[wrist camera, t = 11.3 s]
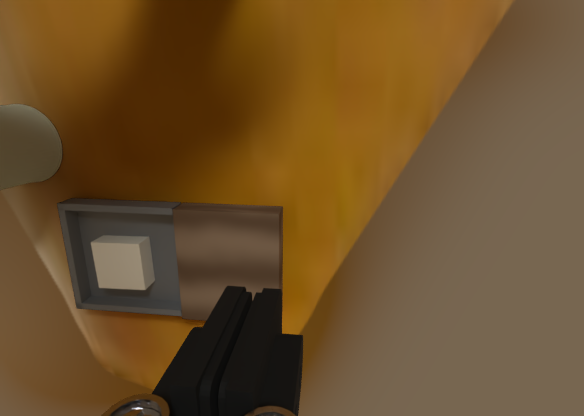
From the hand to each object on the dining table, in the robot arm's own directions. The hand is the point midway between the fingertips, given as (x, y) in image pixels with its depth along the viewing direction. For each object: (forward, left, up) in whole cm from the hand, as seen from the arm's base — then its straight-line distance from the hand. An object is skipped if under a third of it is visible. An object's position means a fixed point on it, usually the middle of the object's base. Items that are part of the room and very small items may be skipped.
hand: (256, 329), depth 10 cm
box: (+12, -22, -29) cm, 38 cm away
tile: (+12, -22, -26) cm, 36 cm away
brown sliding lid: (+12, -9, -29) cm, 33 cm away
